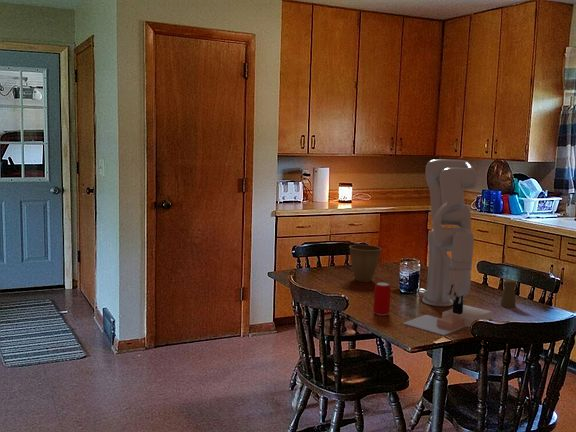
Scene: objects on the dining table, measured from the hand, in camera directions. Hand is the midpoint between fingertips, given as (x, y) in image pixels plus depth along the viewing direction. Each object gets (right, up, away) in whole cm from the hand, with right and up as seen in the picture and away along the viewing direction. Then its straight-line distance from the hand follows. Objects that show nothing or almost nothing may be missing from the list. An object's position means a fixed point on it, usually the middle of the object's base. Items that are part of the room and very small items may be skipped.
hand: (457, 313), depth 228 cm
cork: (+28, -2, +27) cm, 39 cm away
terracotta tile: (-4, -4, -3) cm, 6 cm away
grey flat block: (+5, -3, +6) cm, 9 cm away
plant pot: (-27, +6, +62) cm, 68 cm away
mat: (-9, -4, -2) cm, 10 cm away
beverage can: (-27, -2, +9) cm, 29 cm away
